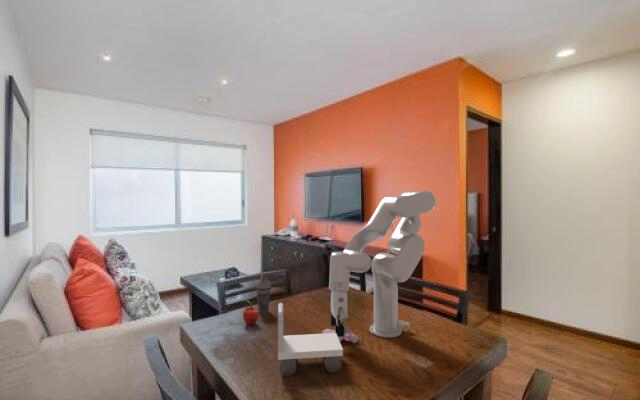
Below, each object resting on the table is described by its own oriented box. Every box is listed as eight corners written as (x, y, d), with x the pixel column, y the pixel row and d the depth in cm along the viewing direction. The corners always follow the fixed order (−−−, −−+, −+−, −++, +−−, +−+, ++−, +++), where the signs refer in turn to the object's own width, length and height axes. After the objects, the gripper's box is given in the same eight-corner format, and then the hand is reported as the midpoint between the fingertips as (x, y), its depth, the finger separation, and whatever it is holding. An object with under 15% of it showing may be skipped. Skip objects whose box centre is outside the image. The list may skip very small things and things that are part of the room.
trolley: (335, 352, 110) (336, 300, 110) (343, 372, 98) (343, 313, 98) (278, 356, 108) (278, 302, 108) (277, 376, 95) (278, 316, 95)
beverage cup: (268, 315, 145) (268, 271, 145) (253, 313, 146) (253, 270, 146) (273, 309, 152) (273, 268, 152) (259, 308, 154) (259, 267, 153)
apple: (261, 321, 138) (261, 298, 138) (256, 327, 131) (256, 303, 131) (243, 320, 139) (243, 297, 138) (238, 327, 132) (238, 303, 132)
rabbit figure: (360, 341, 122) (321, 333, 124) (362, 326, 122) (324, 318, 123) (360, 349, 116) (319, 340, 117) (362, 333, 115) (322, 324, 117)
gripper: (354, 291, 111) (352, 340, 111) (344, 279, 128) (342, 322, 128) (333, 291, 110) (330, 341, 110) (325, 279, 127) (323, 322, 127)
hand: (337, 330), depth 119 cm, fingers open, 9 cm apart
